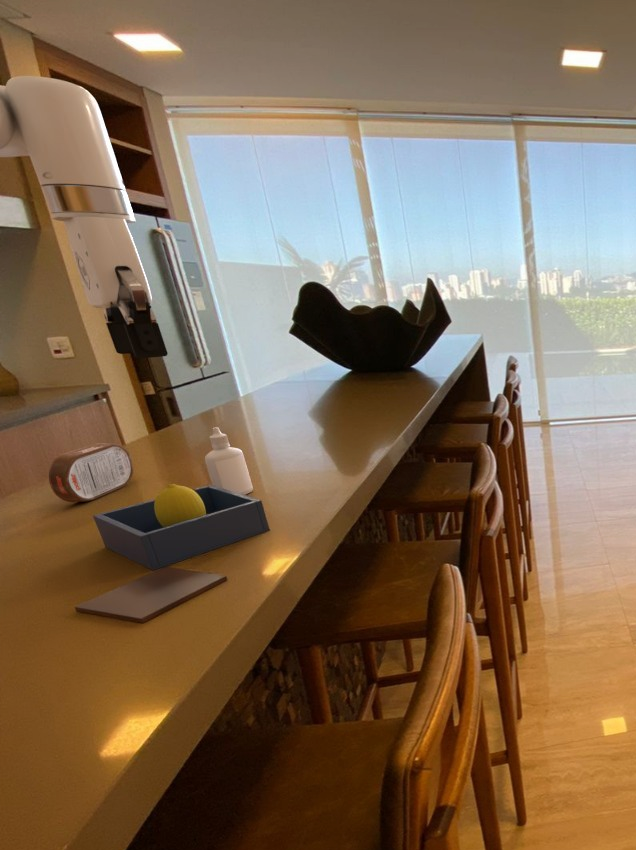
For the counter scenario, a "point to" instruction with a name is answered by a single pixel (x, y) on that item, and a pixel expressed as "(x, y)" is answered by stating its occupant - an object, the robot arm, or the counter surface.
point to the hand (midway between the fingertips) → (142, 354)
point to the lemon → (178, 505)
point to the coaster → (151, 594)
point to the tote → (181, 528)
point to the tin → (90, 472)
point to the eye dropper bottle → (227, 465)
